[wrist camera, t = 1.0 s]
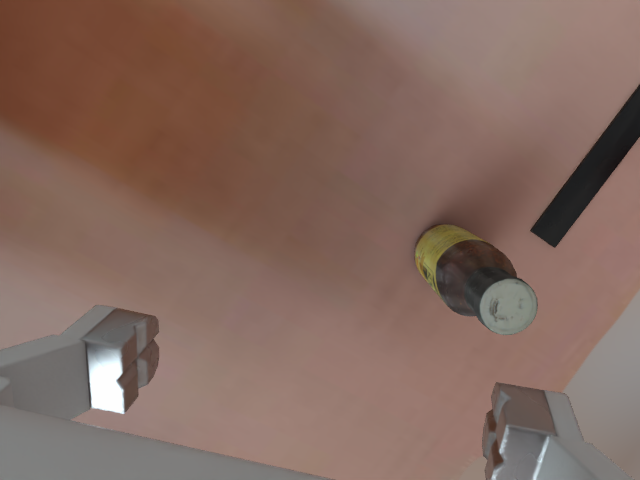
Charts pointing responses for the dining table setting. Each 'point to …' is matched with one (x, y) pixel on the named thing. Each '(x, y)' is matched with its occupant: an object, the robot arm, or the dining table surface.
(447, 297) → the sauce bottle
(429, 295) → the dining table surface
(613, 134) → the straightedge
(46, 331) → the dining table surface
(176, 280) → the dining table surface
